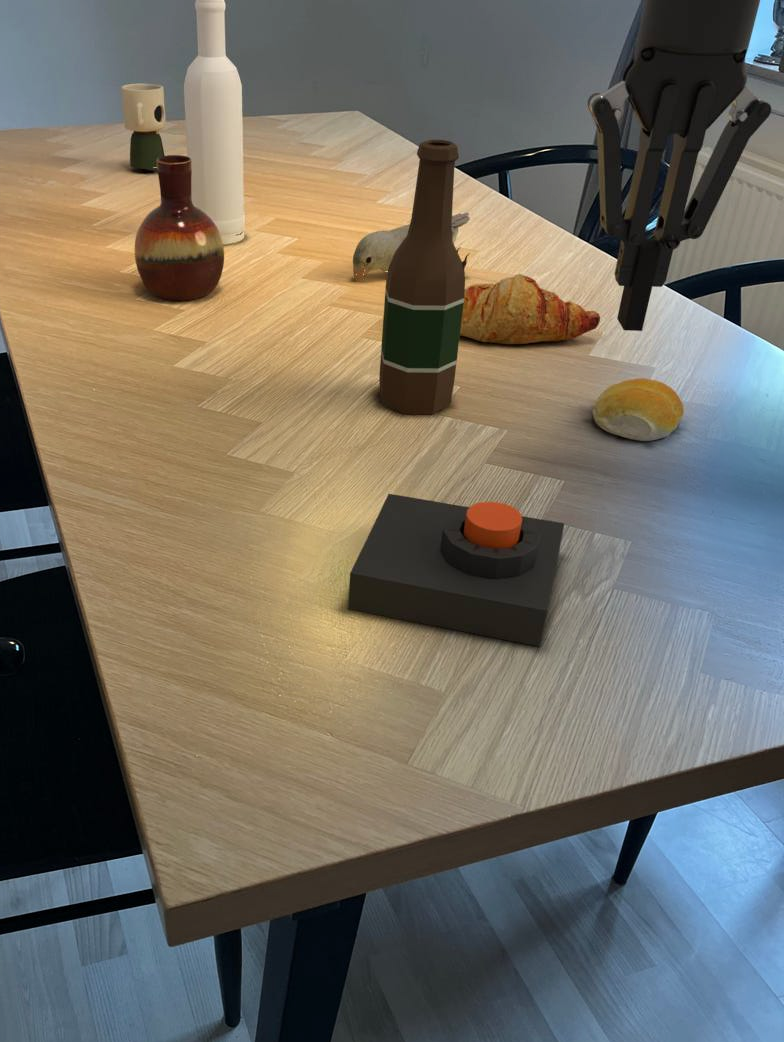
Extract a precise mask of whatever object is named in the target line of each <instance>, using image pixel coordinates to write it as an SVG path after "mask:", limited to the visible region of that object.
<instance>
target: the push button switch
mask: <svg viewBox="0 0 784 1042" xmlns="http://www.w3.org/2000/svg"><path fill="white" fill-rule="evenodd" d="M470 507H471V506H464V505H458V504H453V503H447V502H441V501H436V500H429V499H423V498H417V497H411V496H405V495H401V494H400V495H399V494H393V493H388V495H387V496H386V498H385V501H384V503H383V505H382V507H381V509H380V510H379V513H378V515H377V517H376V519H375V521H374V523H373V526H372V527H371V530H370V532H369V534H368V535H367V538H366V540H365V542H364V544H363V546H362V548H361V550H360V552H359V554H358V556H357V558H356V560H355V563H354V565H353V566H352V569H351V571H350V573H349V587H348V600H347V601H348V605H347V608H348V609H349V610H353V611H357V612H362V613H369V614H372V615H379V616H383V617H389V618H393V619H399V620H404V621H407V622H408V621H409V622H413V623H419V624H424V625H428V626H433V627H438V628H442V629H443V628H444V629H448V630H453V631H459V632H463V633H469V634H474V635H479V636H482V637H483V636H484V637H488V638H495V639H499V640H504V641H509V642H514V643H520V644H523V645H524V644H525V645H528V646H529V645H530V646H534V647H541V644H542V640H543V635H544V631H545V625H546V621H547V618H548V617H547V616H548V613H549V607H550V602H551V596H552V590H553V586H554V580H555V577H556V576H555V575H556V570H557V565H558V561H559V554H560V549H561V545H562V544H561V543H562V539H563V534H564V529H565V523H564V522H560V521H553V520H547V519H542V518H535V517H530V516H524V515H521V516H522V524H521V529H520V535H519V540H518V542H517V544H516V545H514V546H513V547H509V548H500V549H494V548H488V547H482V546H478V545H476V544H474V543H472V542H470V541H468V540H466V539H465V537H464V526H465V519H466V512H467V510H468V509H469V508H470Z"/></svg>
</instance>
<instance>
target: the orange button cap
mask: <svg viewBox="0 0 784 1042" xmlns="http://www.w3.org/2000/svg"><path fill="white" fill-rule="evenodd" d="M469 507H470V508H469V509H468V510H467V512H466V519H465V526H464V537H465V539H466V540H468V541H470V542H472V543H474V544H476V545H478V546H482V547H488V548H494V549H500V548H509V547H513V546H514V545H516V544H517V542H518V540H519V535H520V529H521V524H522V516H523V515H522V513H520V511H519V510H518V509H516V508H514V507H513V506H511V505H509V504H506V503H503V502H496V501H481V502H477V503H474V504H472V505H470V506H469Z"/></svg>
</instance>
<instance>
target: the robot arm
mask: <svg viewBox="0 0 784 1042" xmlns="http://www.w3.org/2000/svg"><path fill="white" fill-rule="evenodd" d="M760 3H761V0H644V1H643V7H642V11H641V16H640V21H639V22H640V23H639V27H638V32H637V38H636V42H635V49H634V51H633V52H634V53H633V55H632V58H631V60H630V61H629V63H628V65H627V66H626V67H625V69H624V71H623V74H622V78H621V81H620V82H618V83H616V84H615V85H613V86H611V87H610V88H608V89H607V90H605V91H604V92H602V93H600V92H594V93H592V94H591V95H589V97H588V99H587V108H588V110H589V112H590V115H591V117H592V120H593V122H594V124H595V128H596V137H597V138H596V139H597V162H598V167H597V168H598V190H599V191H598V192H599V211H600V213H599V214H600V217H599V218H600V225H601V227H602V228H603V230H604V231H605V233H606V234H607V235H608V236H609V237H611V238H616V239H618V240H620V245H619V250H618V254H617V260H616V264H615V269H614V278H615V282H616V283H617V285H618V287H623V288H622V294H621V299H620V303H619V306H618V307H619V308H618V313H617V317H616V319H617V321H618V323H619V325H620V326H621V328H622V330H623V331H629V332H631V331H635V332H642V331H643V330H644V329H643V328H644V324H645V320H646V315H647V312H648V307H649V303H650V300H651V299H650V298H651V295H652V291H653V288H654V287H655V288H662V287H664V284H665V283H666V281H667V277H668V274H669V270H670V265H671V261H672V256H673V253H674V251H675V250H676V249H678V247H679V246H680V245H681V242H683V241H686V240H690V239H691V240H697V239H699V238H701V237H702V235H703V234H704V232H705V230H706V228H707V226H708V223H709V222H710V219H711V217H712V215H713V213H714V211H715V209H716V207H717V205H718V203H719V201H720V199H721V197H722V195H723V193H724V191H725V189H726V187H727V185H728V183H729V181H730V178H731V177H732V175H733V173H734V171H735V169H736V167H737V164H738V163H739V161H740V158H741V156H742V154H743V152H744V150H745V148H746V147H747V144H748V142H749V140H750V139H751V137H753V135H754V134H755V133H756V132H757V131H758V129H760V127H761V126H762V125H763V124H764V123H765V122H766V121H767V119H768V118H769V117H770V116H771V113H772V106H771V104H770V103H769V102H767V101H765V100H763V98H760V97H759V96H757V95H756V94H754V93H753V92H752V91H751V90H750V89H749V87H748V86H747V82H748V81H747V80H748V72H747V69H746V56H747V53H748V49H749V46H750V42H751V39H752V34H753V30H754V26H755V23H756V19H757V15H758V11H759V8H760V7H759V6H760ZM627 99H628V101H629V103H630V106H631V108H632V110H633V112H634V114H635V116H636V119H637V121H638V124H639V125H640V126H641V127H640V132H639V137H638V142H639V144H638V151H637V155H636V160H635V165H634V168H633V174H632V177H631V184H630V189H629V194H628V197H627V202H626V208H625V213H624V216H623V194H622V193H623V191H622V189H623V188H622V187H623V186H622V157H621V156H622V155H621V153H622V152H621V131H620V126H619V123H618V122H619V121H620V120H621V119H622V118H624V117H623V116H624V114H625V102H626V101H627ZM731 104H732V105H731ZM730 105H731V106H730ZM729 107H730V109H729V111H728V113H727V116H728V119H729V120H728V121H727V123H726V125H725V126H724V128H723V130H722V132H721V134H720V136H719V138H718V140H717V142H716V145H715V147H714V149H713V151H712V153H711V155H710V157H709V159H708V161H707V163H706V166H705V167H704V170H703V172H702V173H701V176H700V177H699V180H698V182H697V184H696V186H695V188H694V191H693V192H692V195H691V197H690V199H689V202H688V198H689V195H690V190H691V187H692V181H693V177H694V173H695V169H696V165H697V161H698V157H699V153H700V151H702V148H703V144H704V140H705V136H706V133H707V130H708V129H709V128H710V127H711V126H712V125H713V124H714V123H715V122H716V121H717V120H718V118H719V117H721V115H722V114H723V113H724V112H725V111H726V110H727V109H728V108H729ZM670 135H671V136H672V135H673V140H672V141H673V147H672V151H671V156H670V161H669V165H668V170H667V174H666V179H665V183H664V187H663V191H662V195H661V196H662V197H661V200H660V201H661V202H660V206H659V210H658V215H657V219H656V223H655V228H654V235H655V237H654V238H652V237H651V238H649V237H648V238H646V231H647V227H648V222H649V217H650V214H651V209H652V205H653V200H654V195H655V191H656V186H657V183H658V182H657V181H658V177H659V173H660V168H661V164H662V160H663V155H664V152H665V150H666V148H667V146H668V145H667V144H668V141H669V137H670ZM687 202H688V203H687Z"/></svg>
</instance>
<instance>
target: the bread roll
mask: <svg viewBox="0 0 784 1042" xmlns="http://www.w3.org/2000/svg"><path fill="white" fill-rule="evenodd" d="M684 413H685V412H684V404H683V402H682V400H681V397H680V396H679V395H678V393H677V392H676V391H675V389H674V388H672V387H670V386H669V385H667V384H665V383H664V382H662V381H659V380H655V379H651V378H645V377H644V378H631V379H627V380H623V381H620V382H617V383H615V384H612V385H610V386H609V387H607V388H606V389H605V390H604V391H603V392H602V393H601V394H600V395H599V396H598V397H597V398H596V400H595V403H594V405H593V410H592V416H593V419H594V422H595V423H596V425H598V427H600V428H601V429H602V430H604V431H606V433H608V434H611V435H616V436H619V437H622V438H624V439H628V440H633V441H640V442H652V441H656V440H660V439H664V438H666V437H668V436H669V435H670V434H671V433H673V432H674V431H675V430H676V429H677V428H678V425H679V422H680V421H681V420H682V419H683V417H684Z"/></svg>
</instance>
